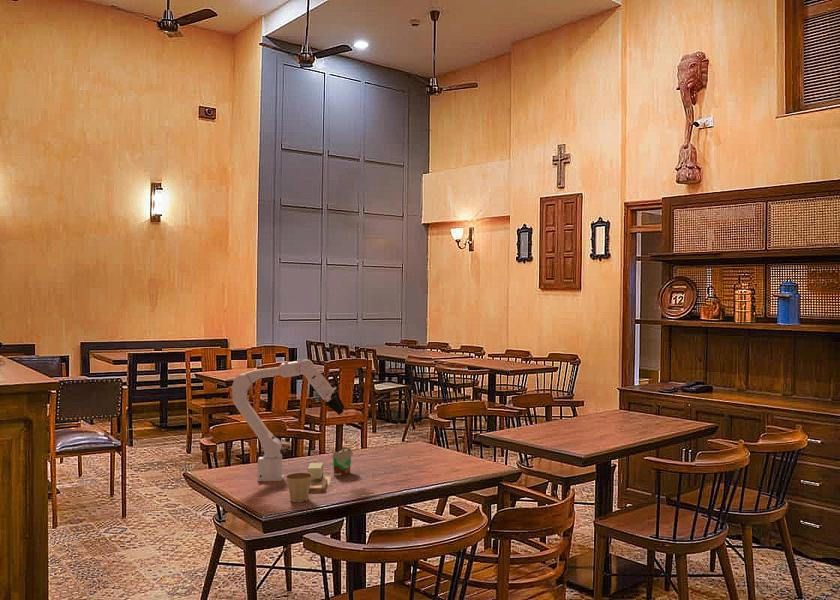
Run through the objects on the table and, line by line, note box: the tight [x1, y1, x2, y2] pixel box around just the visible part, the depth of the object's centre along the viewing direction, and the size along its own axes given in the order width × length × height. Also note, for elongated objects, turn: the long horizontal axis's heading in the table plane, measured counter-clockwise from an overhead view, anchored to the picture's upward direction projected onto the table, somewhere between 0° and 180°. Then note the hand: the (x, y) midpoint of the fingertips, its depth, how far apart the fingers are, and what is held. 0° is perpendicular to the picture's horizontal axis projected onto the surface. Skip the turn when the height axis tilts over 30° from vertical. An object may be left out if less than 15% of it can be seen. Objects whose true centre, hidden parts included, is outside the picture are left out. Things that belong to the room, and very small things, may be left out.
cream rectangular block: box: [307, 462, 324, 481], centre depth 275 cm, size 5×10×5 cm, turn 3°
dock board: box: [309, 476, 332, 494], centre depth 267 cm, size 12×23×2 cm, turn 3°
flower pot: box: [285, 472, 313, 503], centre depth 247 cm, size 9×9×9 cm
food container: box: [332, 446, 354, 477], centre depth 283 cm, size 12×6×10 cm, turn 168°
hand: (342, 411), depth 280 cm, fingers open, 7 cm apart
